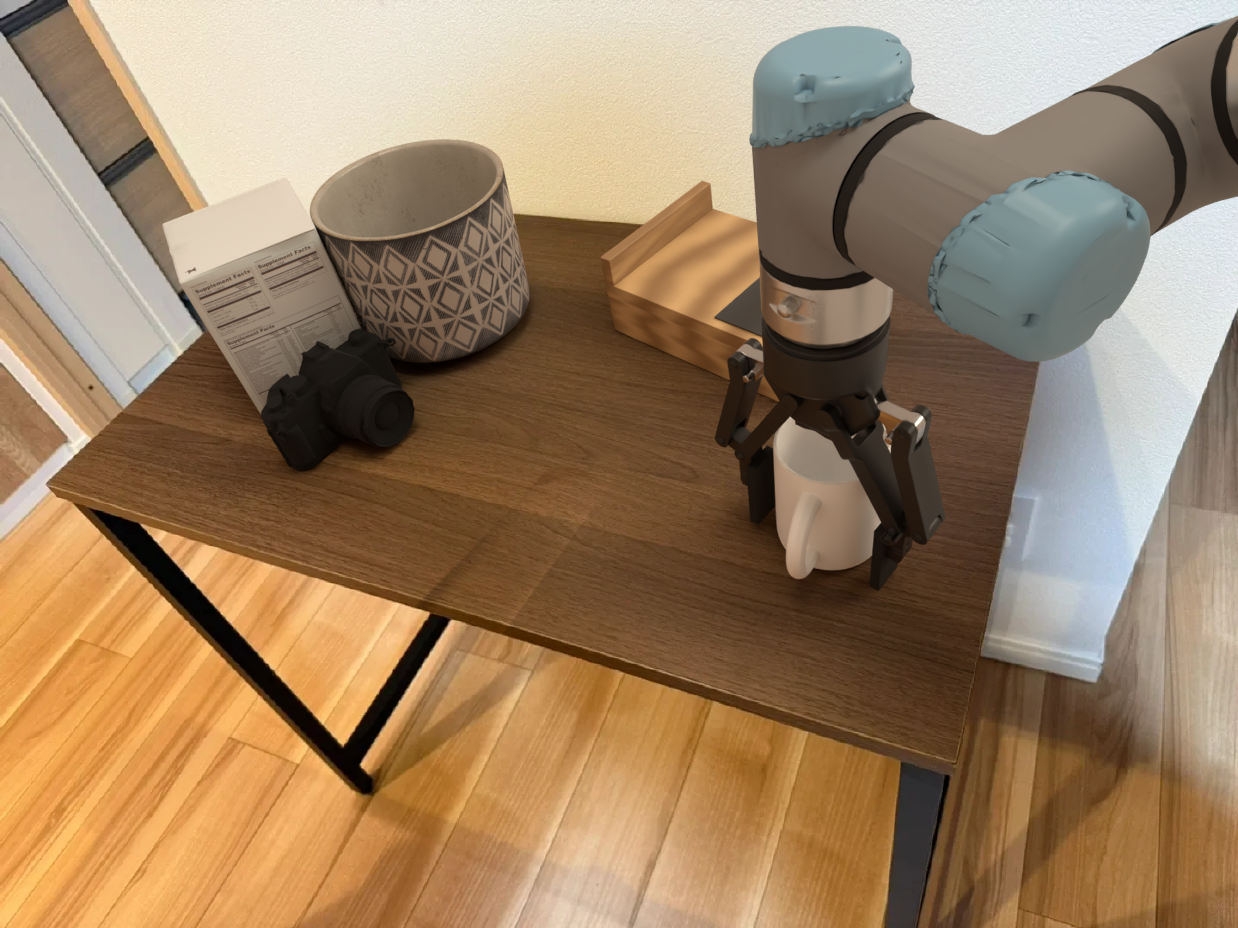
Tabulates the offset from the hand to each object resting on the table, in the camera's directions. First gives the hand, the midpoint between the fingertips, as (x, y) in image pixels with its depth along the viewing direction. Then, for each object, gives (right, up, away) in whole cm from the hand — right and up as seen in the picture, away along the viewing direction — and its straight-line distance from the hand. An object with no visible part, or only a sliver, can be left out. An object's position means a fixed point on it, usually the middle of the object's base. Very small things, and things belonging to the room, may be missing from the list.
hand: (821, 543), depth 68 cm
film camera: (-41, +9, +19) cm, 46 cm away
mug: (0, -1, +1) cm, 1 cm away
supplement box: (-50, +17, +28) cm, 59 cm away
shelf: (-3, +21, +21) cm, 30 cm away
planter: (-34, +22, +29) cm, 50 cm away
